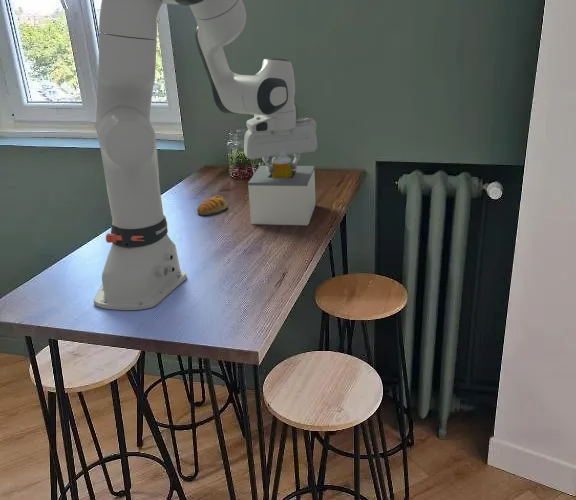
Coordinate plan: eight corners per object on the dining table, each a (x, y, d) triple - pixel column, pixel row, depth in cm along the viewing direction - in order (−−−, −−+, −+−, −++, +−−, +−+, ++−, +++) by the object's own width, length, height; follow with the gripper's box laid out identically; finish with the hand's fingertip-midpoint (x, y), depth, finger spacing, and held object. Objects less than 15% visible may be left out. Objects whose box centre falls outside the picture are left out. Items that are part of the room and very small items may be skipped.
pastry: (209, 218, 173) (208, 205, 171) (191, 214, 176) (190, 202, 175) (229, 208, 180) (228, 196, 178) (211, 204, 183) (210, 192, 182)
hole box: (308, 225, 164) (307, 183, 159) (251, 224, 167) (248, 182, 162) (315, 205, 178) (314, 165, 174) (262, 204, 181) (260, 165, 176)
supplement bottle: (291, 186, 166) (289, 152, 162) (271, 186, 167) (269, 152, 163) (293, 180, 171) (291, 147, 167) (274, 180, 172) (272, 147, 168)
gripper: (312, 114, 167) (313, 163, 173) (240, 122, 162) (244, 171, 167) (320, 118, 161) (321, 168, 167) (246, 126, 156) (249, 177, 162)
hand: (282, 170), depth 167 cm, fingers closed on supplement bottle, 5 cm apart
